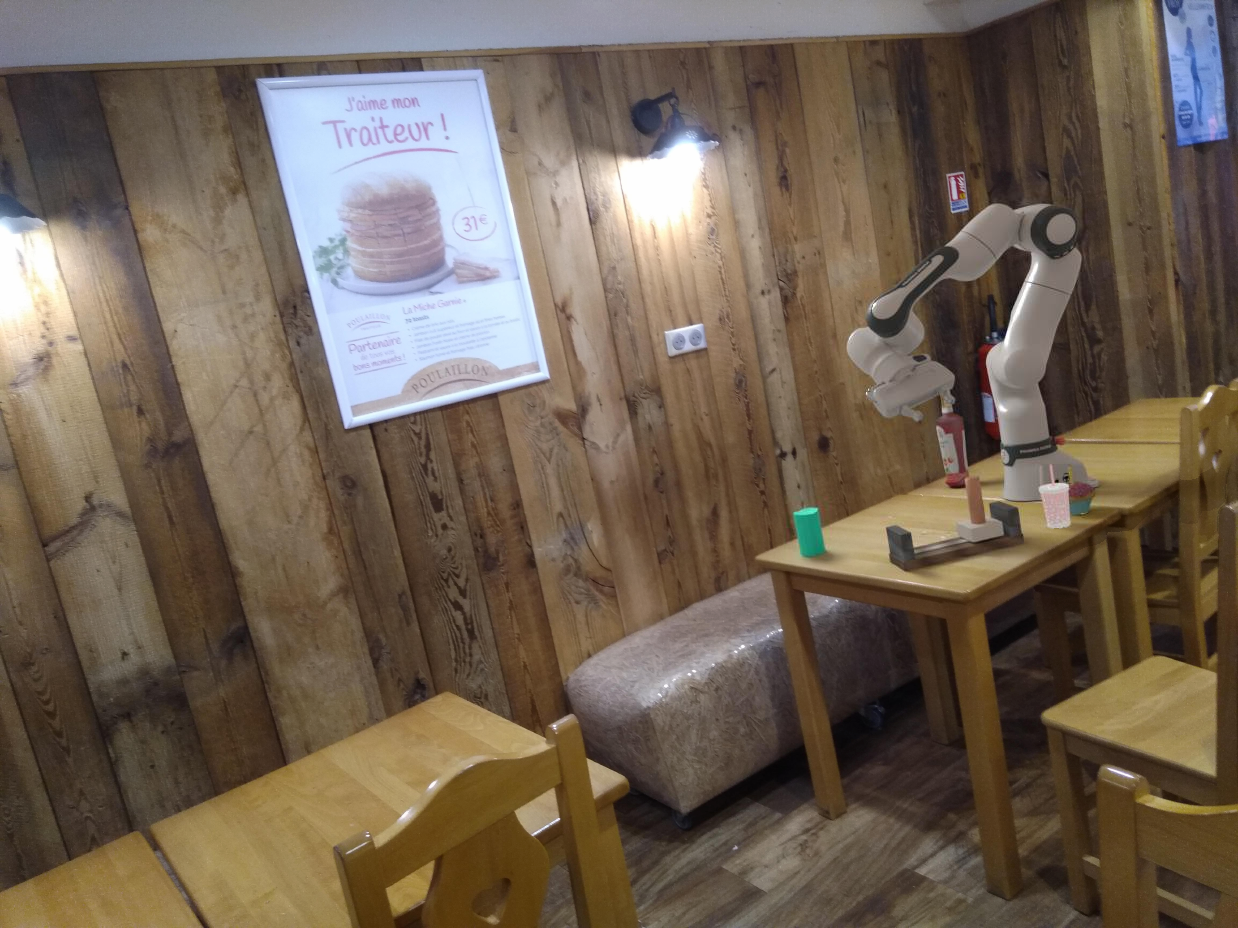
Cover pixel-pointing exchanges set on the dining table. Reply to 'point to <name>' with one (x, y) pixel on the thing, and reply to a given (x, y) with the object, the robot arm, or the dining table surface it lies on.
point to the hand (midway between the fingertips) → (936, 410)
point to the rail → (953, 542)
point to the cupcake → (1079, 495)
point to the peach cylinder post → (977, 516)
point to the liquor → (952, 446)
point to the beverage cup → (1056, 503)
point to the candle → (809, 532)
